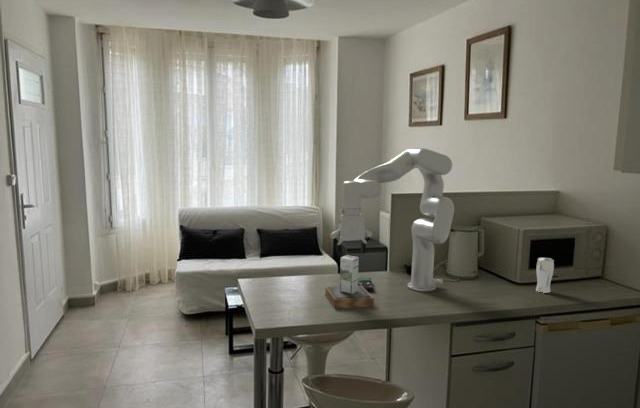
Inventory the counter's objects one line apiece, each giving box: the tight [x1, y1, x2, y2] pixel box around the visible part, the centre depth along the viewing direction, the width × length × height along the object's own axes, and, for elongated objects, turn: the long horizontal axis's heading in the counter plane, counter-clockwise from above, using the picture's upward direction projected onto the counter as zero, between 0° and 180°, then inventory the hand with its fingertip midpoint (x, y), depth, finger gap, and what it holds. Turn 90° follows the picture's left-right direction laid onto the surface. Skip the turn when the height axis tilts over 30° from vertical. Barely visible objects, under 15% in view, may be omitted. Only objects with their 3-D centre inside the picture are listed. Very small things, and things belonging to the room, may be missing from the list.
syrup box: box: [339, 254, 360, 294], centre depth 192 cm, size 6×6×14 cm
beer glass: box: [535, 257, 555, 294], centre depth 212 cm, size 7×7×15 cm
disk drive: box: [358, 277, 374, 293], centre depth 213 cm, size 10×3×15 cm
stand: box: [324, 286, 375, 309], centre depth 193 cm, size 16×16×4 cm
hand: (351, 253), depth 191 cm, fingers open, 9 cm apart
